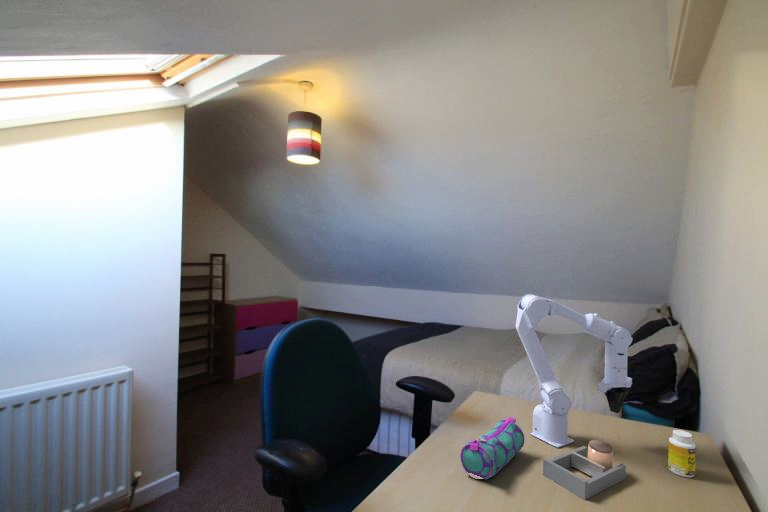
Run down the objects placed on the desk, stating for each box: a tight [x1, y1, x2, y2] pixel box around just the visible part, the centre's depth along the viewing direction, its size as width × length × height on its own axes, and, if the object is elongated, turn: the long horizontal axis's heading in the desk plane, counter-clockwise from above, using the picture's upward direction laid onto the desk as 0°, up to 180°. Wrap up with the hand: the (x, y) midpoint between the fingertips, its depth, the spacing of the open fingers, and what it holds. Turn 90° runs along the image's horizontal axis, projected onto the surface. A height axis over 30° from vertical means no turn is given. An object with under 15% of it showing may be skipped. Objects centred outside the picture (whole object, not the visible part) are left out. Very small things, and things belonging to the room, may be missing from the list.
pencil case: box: [459, 416, 525, 480], centre depth 101 cm, size 21×9×10 cm, turn 138°
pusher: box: [571, 451, 605, 478], centre depth 96 cm, size 8×1×3 cm, turn 30°
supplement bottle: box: [667, 429, 697, 478], centre depth 98 cm, size 6×6×10 cm
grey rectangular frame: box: [542, 445, 627, 501], centre depth 96 cm, size 11×17×4 cm, turn 120°
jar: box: [587, 439, 614, 471], centre depth 98 cm, size 6×6×7 cm
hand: (614, 411), depth 113 cm, fingers closed
